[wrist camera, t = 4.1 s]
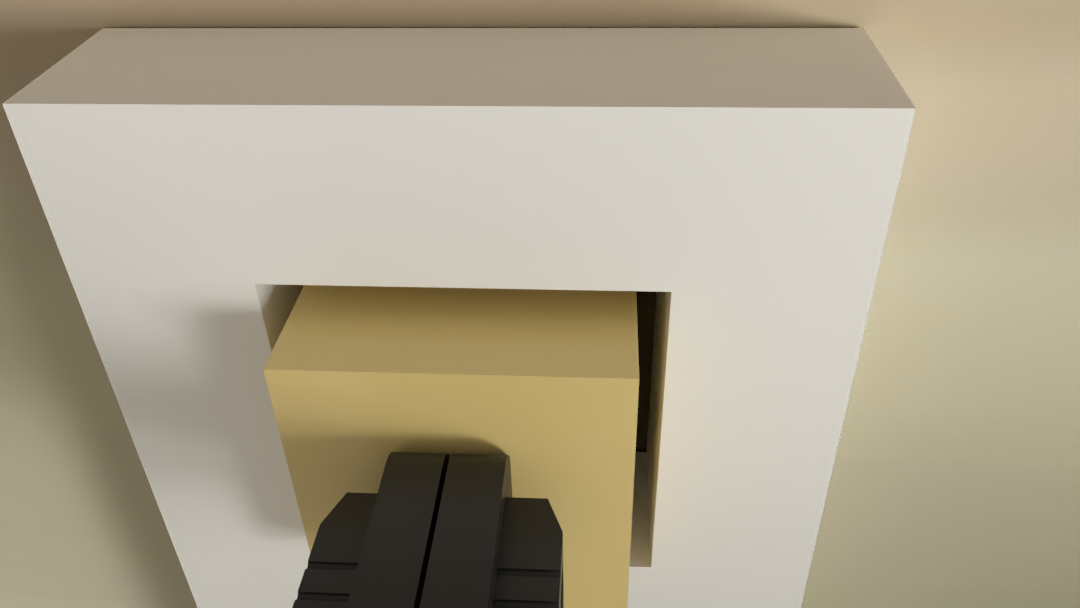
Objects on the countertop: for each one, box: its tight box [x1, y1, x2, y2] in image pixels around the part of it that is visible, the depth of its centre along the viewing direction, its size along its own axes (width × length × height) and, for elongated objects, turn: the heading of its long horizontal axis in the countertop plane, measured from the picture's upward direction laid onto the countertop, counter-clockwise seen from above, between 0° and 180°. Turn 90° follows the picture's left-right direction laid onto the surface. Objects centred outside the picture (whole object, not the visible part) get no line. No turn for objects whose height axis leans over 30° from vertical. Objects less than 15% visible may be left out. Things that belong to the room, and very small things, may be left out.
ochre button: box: [263, 285, 639, 608], centre depth 13 cm, size 4×4×3 cm
